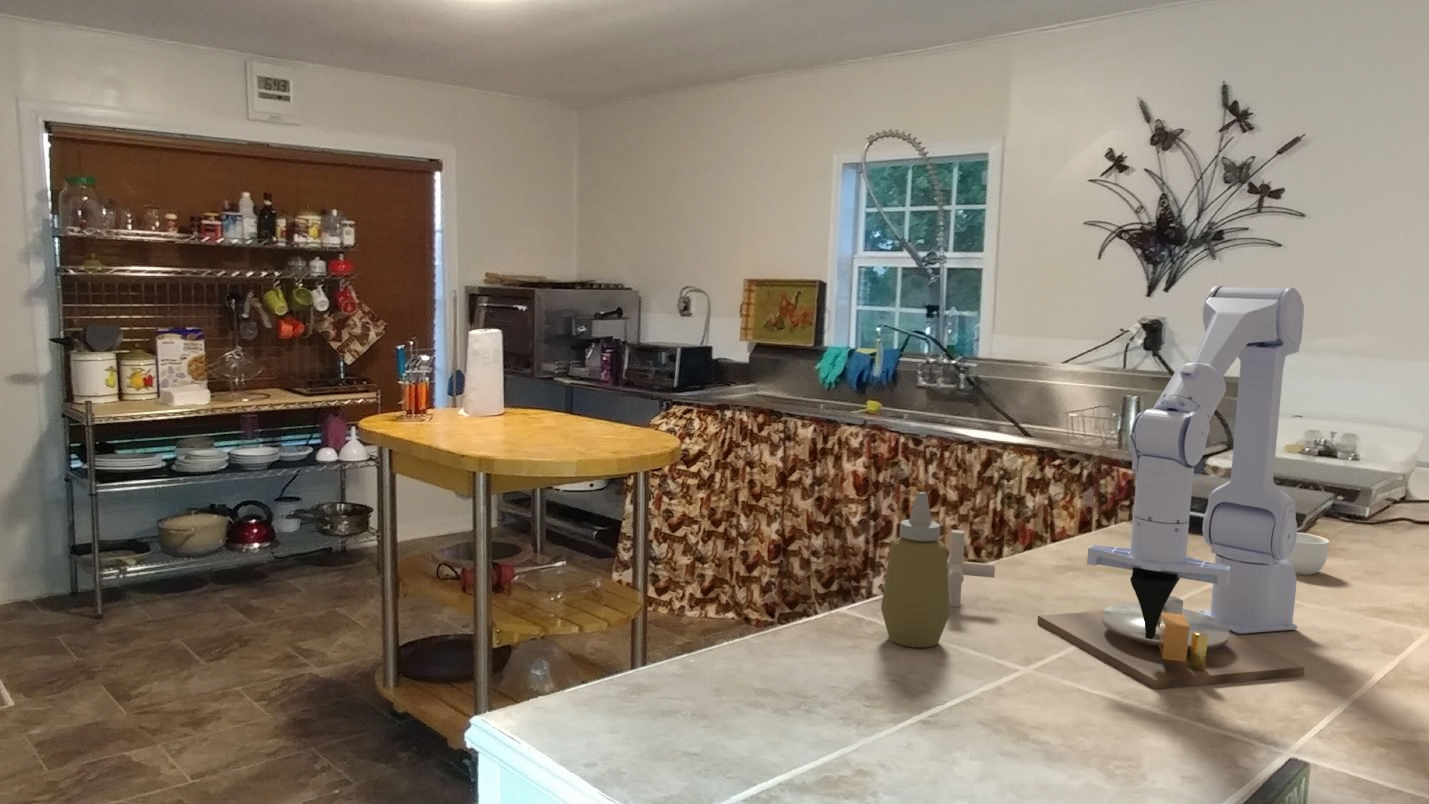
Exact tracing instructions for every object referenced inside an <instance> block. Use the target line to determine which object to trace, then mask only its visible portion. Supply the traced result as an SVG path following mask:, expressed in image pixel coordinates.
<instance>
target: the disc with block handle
mask: <svg viewBox="0 0 1429 804" xmlns="http://www.w3.org/2000/svg"><path fill="white" fill-rule="evenodd" d="M1183 604H1184V601H1183V599H1181V598H1179V597H1176V596H1172V595H1170V596H1169V598H1168V600H1167V601H1166V603H1165V606H1164V608H1163V610H1162V612H1161V615H1160V617H1159V620H1158V624H1157V627H1156V633H1155V636H1154V638H1153V639H1147V638H1145V634H1146V632H1145V624H1144V619H1143V614H1142V610H1141V607H1140V604H1139V602H1128V603H1127V602H1126V603H1118V604H1117V603H1116V604H1112V605H1109V606H1107V607H1105V608H1104V609H1103V610H1102V611H1103V616H1102V623H1103V625H1104V626H1105V627H1106V628H1107V629H1109V630H1110V631H1112V632H1114V633H1116V634H1118V635H1120V636H1123V637H1125V638H1128V639H1131V640H1134V641H1138V642H1141V643H1145V644H1150V645H1155V646H1159V649H1160V652H1161V656H1162V659H1167V660H1175V661H1182V662H1186V658H1187V650H1191V640H1192V632H1203V633H1206V634H1208V641H1207V649H1214V648H1219V647H1222V646H1224V645H1226V644H1227V643H1228V641H1229V634H1231V632H1230V631H1231V630H1229V628H1228V627H1227V626H1226V625H1225V624H1224V623H1222V622H1220V621H1219V620H1217V619H1215V618H1212V617H1210V616H1207V615H1204V614H1201V613H1198V612H1195V611H1196V610H1195V611H1194V610H1192V609H1191V610H1190V609H1186V608H1184V607H1183V606H1184V605H1183Z"/></svg>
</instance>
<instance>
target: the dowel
mask: <svg viewBox="0 0 1429 804" xmlns="http://www.w3.org/2000/svg"><path fill="white" fill-rule="evenodd" d="M1207 641H1208V634H1206V633H1203V632H1192V640H1191V651H1190V662H1189V668H1190V669H1191V670H1194V671H1199V672H1202V671H1205V663H1206V652H1207Z"/></svg>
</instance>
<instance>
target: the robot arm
mask: <svg viewBox="0 0 1429 804" xmlns="http://www.w3.org/2000/svg"><path fill="white" fill-rule="evenodd" d="M1304 314H1305V306H1304V302H1303V298H1302V295H1301V294H1300V292H1299V291H1298V290H1297V288H1295V287H1291V286H1290V287H1287V288H1281V287H1280V288H1279V287H1278V288H1277V287H1275V288H1274V287H1271V288H1270V287H1245V286H1244V287H1243V286H1242V287H1241V286H1240V287H1239V286H1238V287H1236V286H1223V285H1215V286H1213V287H1212V289H1211V290H1210V291H1209V292H1208V293H1207V295H1206V297H1205V299H1204V302H1203V308H1202V323H1203V326H1204V331H1205V332H1204V335H1203V337H1202V339H1201V341H1200V344H1199V345H1198V348H1197V350H1196V352H1195V355H1194V357H1193V358H1192V361H1191V362H1189V363H1184V364H1182V365H1180V366H1179V367H1178V368H1176V370H1175V372H1174V373H1173V375H1172V376H1171V378H1170V379H1169V381H1168V383H1167V384H1166V386H1165V388H1164V390H1163V391H1162V393H1161V395H1160V396H1159V398H1158V399H1157V401H1156V402H1155V404H1154V406H1153V408H1148V409H1146V410H1145V411H1141V412H1139V413H1138V414H1137V415H1136V417H1135V418H1134V420H1133V423H1132V426H1131V431H1130V434H1129V438H1128V440H1129V449H1130V453H1131V455H1132V456H1131V457H1132V461H1131V462H1132V464H1131V465H1132V466H1131V469H1132V473H1133V474H1135V475H1136V477H1135V480H1136V481H1135V489H1134V491H1135V492H1134V500H1133V501H1134V503H1133V512H1132V513H1133V515H1132V527H1131V528H1132V529H1131V537H1130V539H1131V540H1130V547H1129V548H1128V547H1118V546H1107V545H1097V544H1091V545H1090V546H1089V547H1088V548H1087V559H1086V564H1087V565H1092V566H1098V565H1101V566H1107V567H1113V568H1117V569H1125V570H1131V571H1132V572H1131V576H1130V582H1131V587H1132V589H1133V590H1134V593H1135V595H1136V597H1137V601H1138V603H1139V604H1140V607H1141V610H1142V614H1143V619H1144V624H1145V632H1146V634H1145V638H1147V639H1153V638H1154V636H1155V633H1156V627H1157V624H1158V620H1159V617H1160V615H1161V612H1162V610H1163V608H1164V606H1165V603H1166V601H1167V600H1168V598H1169V596H1171V594H1172V592H1173V590H1174V589H1175V588H1176V585H1177V584H1178V583H1179V581H1180V579H1184V580H1190V581H1196V582H1202V583H1208V584H1209V583H1210V584H1212V590H1211V600H1210V601H1211V602H1210V609H1207V610H1206V609H1202V610H1195V612H1198V613H1201V614H1204V615H1207V616H1210V617H1212V618H1215V619H1217V620H1219V621H1220V622H1222V623H1224V624H1225V625H1226V626H1227V627H1228V628H1229V631H1231V632H1233V633H1236V634H1250V633H1251V634H1252V633H1254V634H1255V633H1265V632H1267V633H1268V632H1278V631H1289V630H1290V631H1292V630H1297V629H1298V625H1297V624H1295V623H1293V622H1294V611H1295V601H1296V591H1297V585H1298V584H1297V582H1298V581H1297V580H1298V579H1297V574H1295V571H1294V568H1293V566H1292V565H1291V563H1290V562H1289V561H1288V560H1286V558H1287V557H1288V556H1289V555H1290V554H1291V553H1292V551H1293V549H1294V546H1295V542H1296V537H1297V532H1298V523H1297V520H1296V518H1297V517H1296V513H1297V511H1296V501H1295V500H1294V499H1293V497H1291V496H1290V495H1288V494H1287V493H1286V492H1285V491H1284V490H1282V489H1281V488H1280V487H1279V486H1278V485H1276V483H1275V482H1274V474H1275V463H1276V454H1277V453H1276V452H1277V451H1276V450H1277V443H1278V442H1277V440H1278V431H1279V421H1280V420H1279V419H1280V409H1281V408H1280V407H1281V397H1282V385H1283V375H1284V367H1285V363H1286V357H1287V356H1289V355H1292V354H1296V353H1298V352H1299V351H1300V346H1301V342H1302V338H1303V327H1304V316H1305V315H1304ZM1237 358H1238V359H1239V361H1240V367H1239V377H1238V388H1237V398H1236V399H1237V401H1236V413H1235V424H1234V435H1233V446H1232V447H1233V448H1232V457H1231V458H1232V459H1231V460H1232V461H1231V471H1230V472H1231V473H1230V480H1229V481H1227V482H1225V483H1224V484H1221V485H1219V486H1217V487H1216V488H1214V489H1213V490H1212V492H1211V493H1209V496H1208V502H1207V508H1206V511H1205V513H1204V516H1203V520H1202V536H1203V539H1204V540H1205V543H1206V544H1207V545H1208V546H1209V547H1211V549H1210V550H1211V551H1210V552H1211V553H1212V554H1214V555H1215V558H1214V559H1215V560H1214V562H1210V561H1205V560H1202V559H1197V558H1194V557H1190V556H1187V548H1188V539H1189V530H1190V529H1189V527H1190V514H1191V506H1192V496H1193V495H1192V493H1193V492H1192V491H1193V482H1194V472H1195V466H1196V465H1197V464H1198V463H1200V461H1201V459H1203V456H1204V454H1205V450H1206V445H1207V442H1208V435H1209V434H1210V430H1211V426H1210V420H1211V419H1212V417H1213V415H1214V414H1215V411H1216V410H1217V408H1218V407H1219V405H1220V402H1221V401H1222V399H1223V398H1224V395H1225V394H1226V391H1227V386H1226V381H1225V379H1224V375H1226V373H1227V372H1228V370H1229V369H1230V368H1231V366H1232V365H1233V364H1234V363H1235V361H1236V360H1237Z"/></svg>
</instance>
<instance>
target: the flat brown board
mask: <svg viewBox="0 0 1429 804" xmlns="http://www.w3.org/2000/svg"><path fill="white" fill-rule="evenodd" d="M1102 616H1103V610H1102V611H1101V610H1100V611H1086V612H1071V613H1070V612H1069V613H1058V614H1057V613H1055V614H1053V613H1052V614H1041V615H1040V614H1039V615H1037V624H1038V625H1041V626H1042V627H1043V628H1045V629H1047V630H1049V631H1051V632H1053V633H1055V634H1056V635H1057V636H1059V637H1062V638H1063V639H1065V640H1067V641H1068V642H1070V643H1072V644H1074V645H1076V646H1077V647H1079V648H1081V649H1083V650H1084V651H1086V652H1088V653H1090V654H1091V655H1093V656H1096V657H1097V658H1098V659H1101V660H1102V661H1104V662H1106V663H1107V664H1109V665H1111V666H1113V668H1117V669H1118V670H1120V671H1121V672H1124V673H1125V674H1127V675H1128V676H1131V677H1132V678H1134V679H1136V680H1138V681H1140V682H1141V683H1143V684H1145V685H1147V686H1148V687H1151V688H1152V689H1154V690H1161V689H1172V688H1181V687H1191V686H1192V687H1193V686H1194V687H1195V686H1203V685H1213V684H1214V685H1215V684H1227V683H1236V682H1238V683H1239V682H1245V681H1246V682H1248V681H1260V680H1270V679H1280V678H1281V679H1282V678H1293V677H1302V676H1305V666H1303V665H1301V664H1299V663H1296V662H1294V661H1293V660H1290V659H1287V658H1285V657H1284V656H1280V655H1279V654H1277V653H1274V652H1271V651H1269V650H1267V649H1265V648H1262V647H1261V646H1259V645H1256V644H1254V643H1251V642H1249V641H1247V640H1245V639H1242V638H1241V637H1238V636H1235V635H1234V634H1232V633H1229V641H1228V643H1227V644H1226V645H1224V646H1222V647H1219V648H1214V649H1207V652H1206V663H1205V671H1202V672H1199V671H1194V670H1191V669H1190V668H1189V662H1190V651H1191V650H1187V658H1186V662H1182V661H1175V660H1167V659H1162V656H1161V652H1160V649H1159V646H1155V645H1150V644H1145V643H1141V642H1138V641H1134V640H1131V639H1128V638H1125V637H1123V636H1120V635H1118V634H1116V633H1114V632H1112V631H1110V630H1109V629H1107V628H1106V627H1105V626H1104V625H1103V623H1102Z"/></svg>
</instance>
